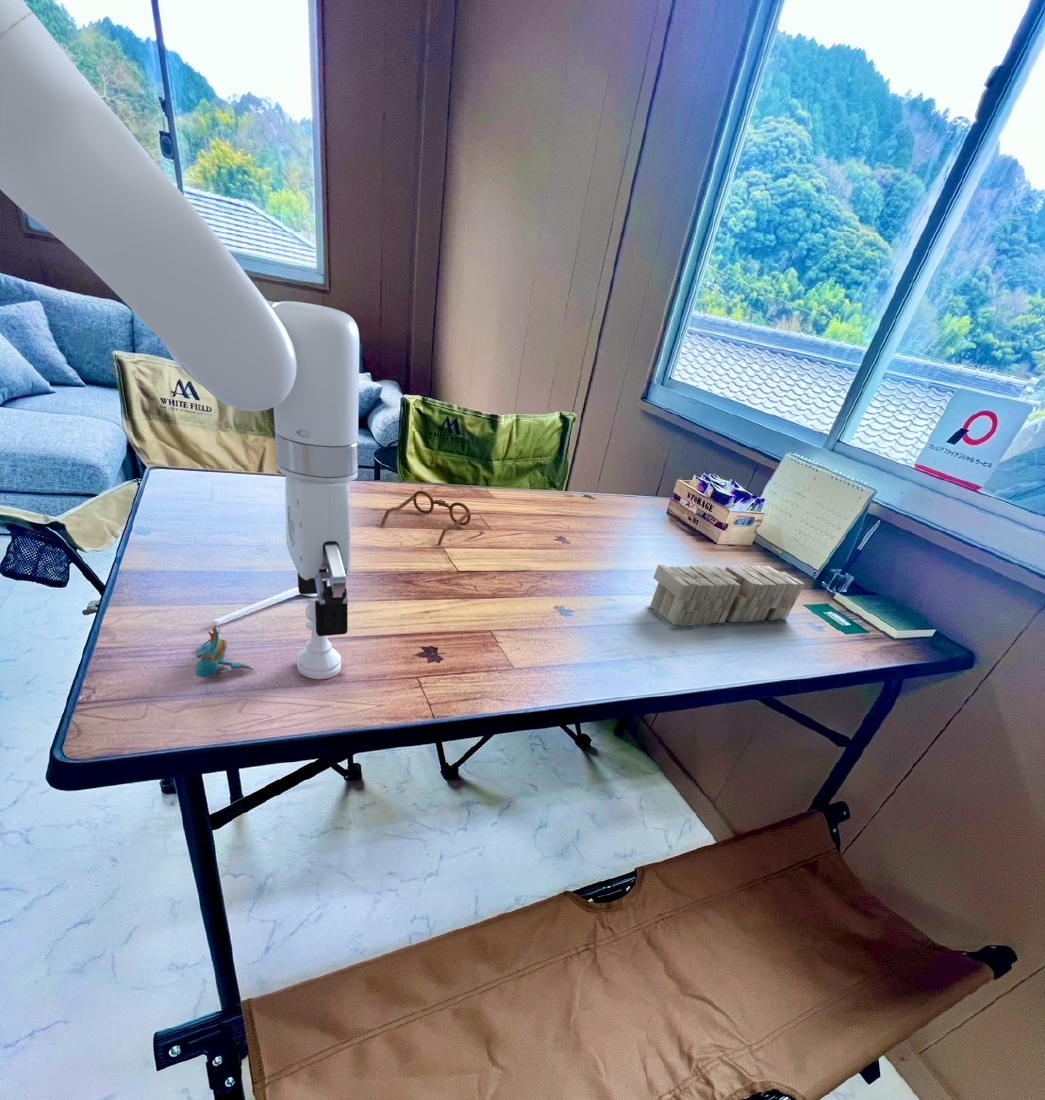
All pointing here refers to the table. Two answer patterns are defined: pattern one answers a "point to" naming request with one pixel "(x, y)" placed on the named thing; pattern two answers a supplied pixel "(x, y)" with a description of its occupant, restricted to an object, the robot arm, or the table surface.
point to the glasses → (432, 510)
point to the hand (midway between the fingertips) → (322, 612)
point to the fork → (260, 605)
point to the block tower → (723, 594)
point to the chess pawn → (317, 652)
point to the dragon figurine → (214, 657)
